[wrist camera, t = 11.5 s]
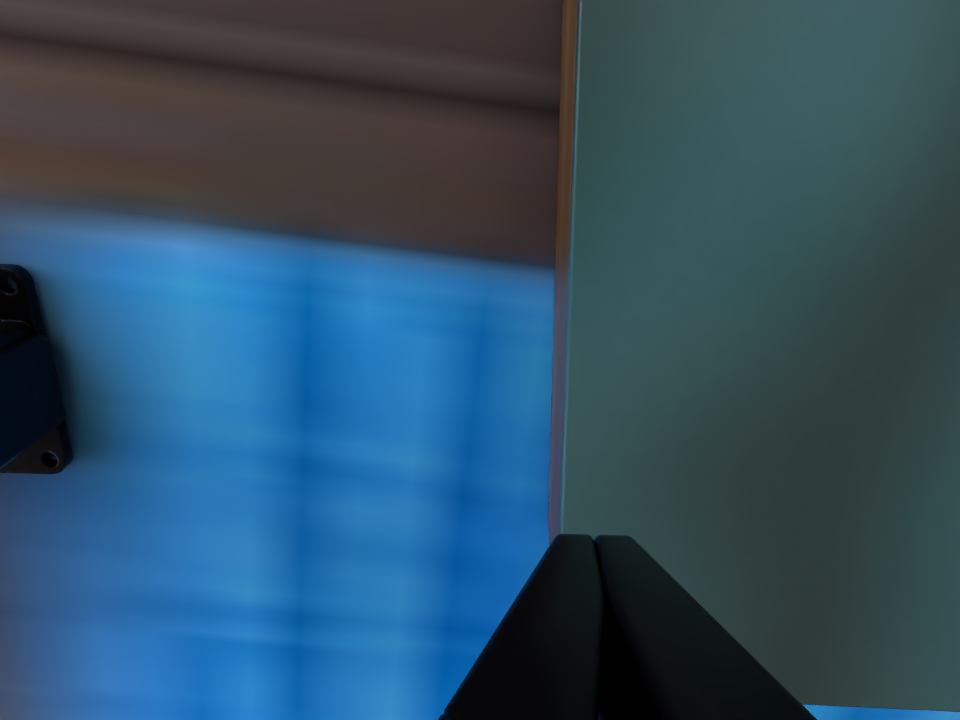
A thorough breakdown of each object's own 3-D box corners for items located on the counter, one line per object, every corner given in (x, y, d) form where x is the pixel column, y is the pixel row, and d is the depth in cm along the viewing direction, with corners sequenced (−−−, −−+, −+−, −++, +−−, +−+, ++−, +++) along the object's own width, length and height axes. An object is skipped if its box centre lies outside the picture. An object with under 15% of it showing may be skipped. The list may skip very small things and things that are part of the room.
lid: (1444, -116, 11) (1507, -129, 11) (1130, 693, 17) (1156, 722, 16) (580, -97, 12) (582, -107, 12) (553, 668, 18) (554, 693, 17)
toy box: (1094, -54, 17) (1374, -113, 12) (947, 530, 23) (1087, 687, 17) (564, -46, 18) (579, -97, 12) (548, 519, 24) (553, 666, 18)
